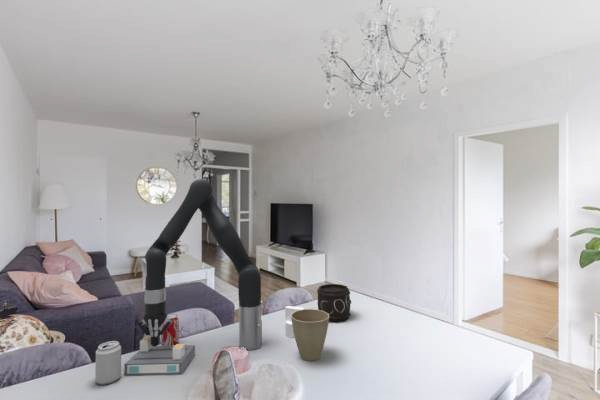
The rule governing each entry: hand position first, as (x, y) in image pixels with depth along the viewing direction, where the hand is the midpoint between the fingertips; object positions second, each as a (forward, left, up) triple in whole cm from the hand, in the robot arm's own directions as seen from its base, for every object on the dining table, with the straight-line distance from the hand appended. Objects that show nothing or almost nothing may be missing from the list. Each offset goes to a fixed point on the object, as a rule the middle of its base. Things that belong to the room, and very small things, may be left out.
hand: (155, 345), depth 118 cm
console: (-4, +3, -6) cm, 8 cm away
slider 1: (+4, 0, -1) cm, 4 cm away
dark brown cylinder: (-75, -43, -6) cm, 87 cm away
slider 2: (-12, +7, -1) cm, 14 cm away
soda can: (0, -14, -6) cm, 15 cm away
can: (+10, +13, -6) cm, 17 cm away
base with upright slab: (-54, -22, -6) cm, 59 cm away
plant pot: (-60, 0, -6) cm, 60 cm away
